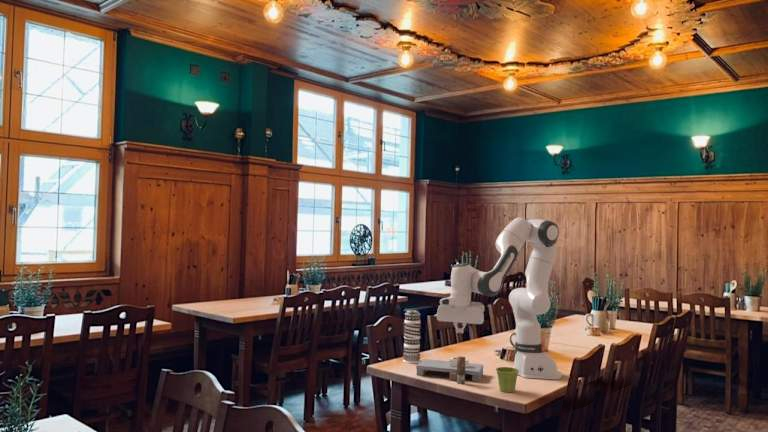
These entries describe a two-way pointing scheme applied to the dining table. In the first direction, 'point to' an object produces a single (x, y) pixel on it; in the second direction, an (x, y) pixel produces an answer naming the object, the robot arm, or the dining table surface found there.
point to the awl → (460, 370)
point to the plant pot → (507, 378)
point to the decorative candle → (412, 337)
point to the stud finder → (454, 362)
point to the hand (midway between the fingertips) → (459, 332)
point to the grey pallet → (449, 369)
